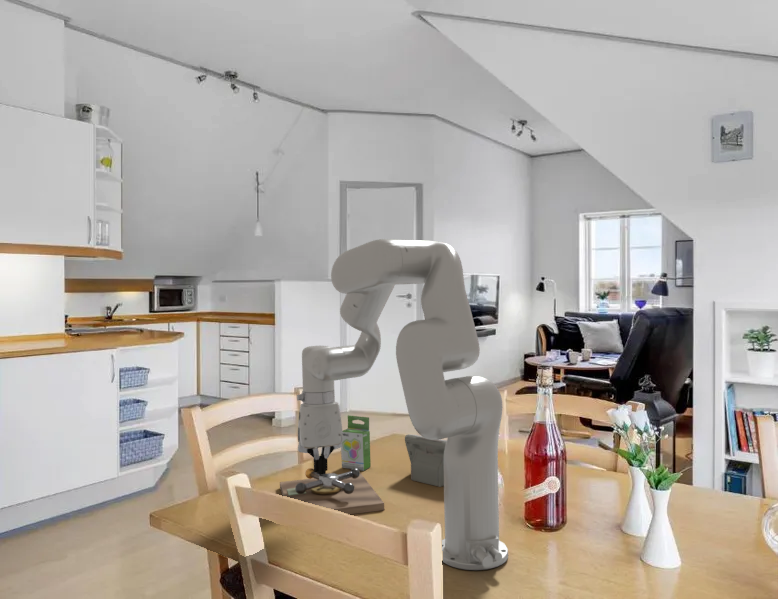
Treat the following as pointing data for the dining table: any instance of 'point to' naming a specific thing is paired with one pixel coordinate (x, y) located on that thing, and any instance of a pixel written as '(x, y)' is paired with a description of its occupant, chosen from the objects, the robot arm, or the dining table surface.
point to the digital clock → (426, 459)
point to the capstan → (327, 482)
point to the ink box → (356, 444)
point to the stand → (338, 496)
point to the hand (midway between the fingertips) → (320, 474)
